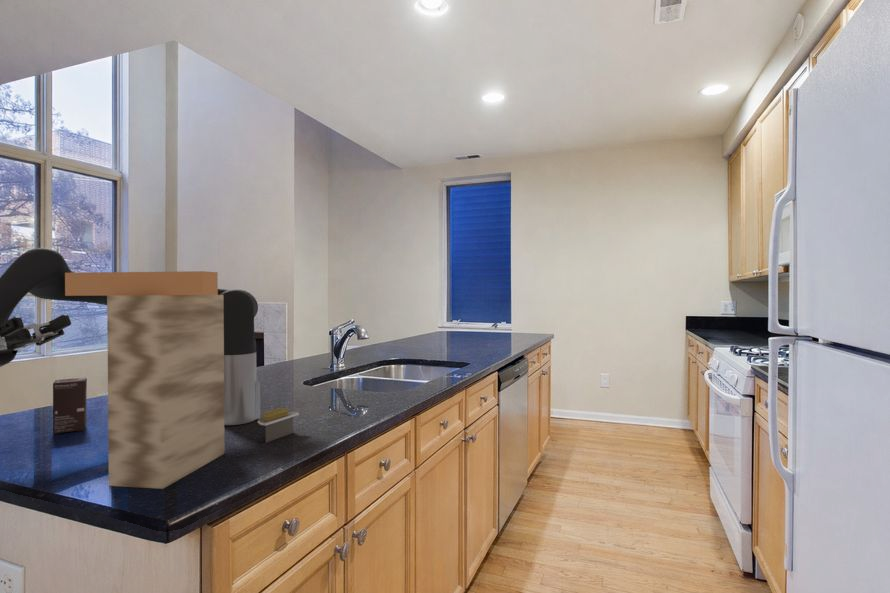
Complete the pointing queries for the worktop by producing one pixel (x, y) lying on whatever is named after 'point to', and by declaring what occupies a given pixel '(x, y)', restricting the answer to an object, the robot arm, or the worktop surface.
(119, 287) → the rail
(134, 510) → the worktop surface
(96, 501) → the worktop surface
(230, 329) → the robot arm
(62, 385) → the box
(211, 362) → the tall wooden block
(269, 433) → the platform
